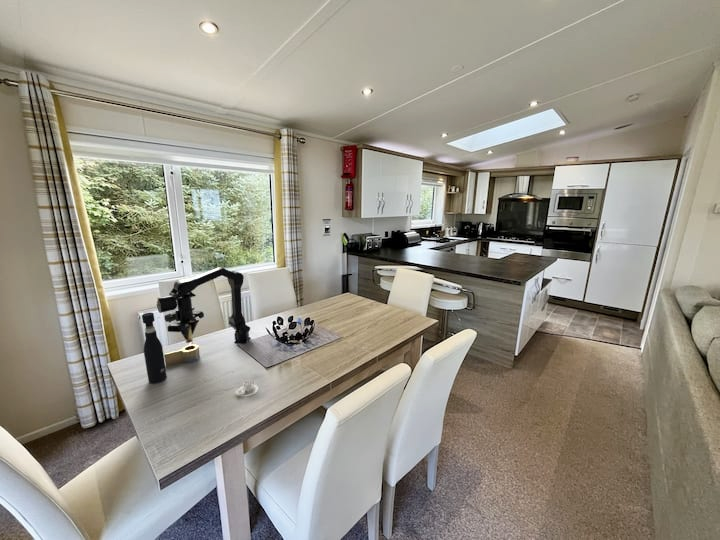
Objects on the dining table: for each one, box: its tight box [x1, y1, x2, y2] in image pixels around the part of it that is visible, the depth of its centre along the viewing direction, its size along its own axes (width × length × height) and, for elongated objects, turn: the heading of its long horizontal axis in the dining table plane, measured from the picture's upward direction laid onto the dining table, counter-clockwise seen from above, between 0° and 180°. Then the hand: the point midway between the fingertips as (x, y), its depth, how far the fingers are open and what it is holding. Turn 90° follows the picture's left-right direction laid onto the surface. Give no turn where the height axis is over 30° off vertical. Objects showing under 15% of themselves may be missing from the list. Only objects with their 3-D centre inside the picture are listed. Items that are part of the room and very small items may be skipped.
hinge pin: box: [184, 325, 194, 344], centre depth 137 cm, size 3×3×8 cm
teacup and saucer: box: [234, 379, 259, 397], centre depth 117 cm, size 9×8×4 cm
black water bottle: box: [141, 312, 168, 385], centre depth 120 cm, size 6×6×30 cm
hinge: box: [163, 341, 201, 367], centre depth 140 cm, size 12×16×6 cm
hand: (188, 337), depth 137 cm, fingers closed on hinge pin, 3 cm apart
